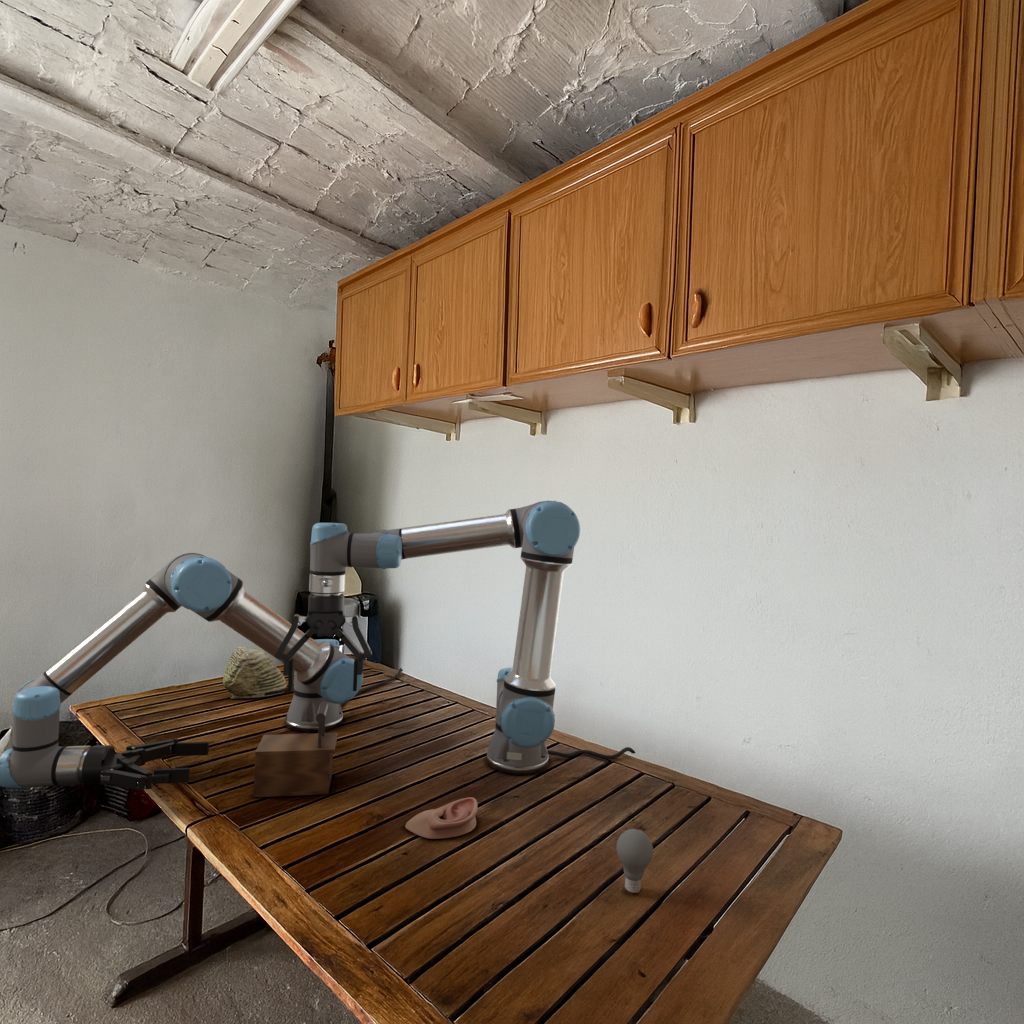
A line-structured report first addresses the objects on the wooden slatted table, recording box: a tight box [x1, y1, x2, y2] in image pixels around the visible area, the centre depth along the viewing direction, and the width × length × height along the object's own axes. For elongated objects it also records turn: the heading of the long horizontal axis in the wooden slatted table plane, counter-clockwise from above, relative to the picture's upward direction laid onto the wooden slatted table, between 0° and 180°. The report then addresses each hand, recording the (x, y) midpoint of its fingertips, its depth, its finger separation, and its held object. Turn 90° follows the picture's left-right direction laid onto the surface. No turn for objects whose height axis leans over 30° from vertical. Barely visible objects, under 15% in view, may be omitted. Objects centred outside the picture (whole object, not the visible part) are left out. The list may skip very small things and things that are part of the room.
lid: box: [254, 702, 339, 757], centre depth 138 cm, size 16×10×8 cm, turn 101°
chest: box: [253, 753, 334, 798], centre depth 138 cm, size 15×10×9 cm, turn 101°
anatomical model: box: [404, 796, 479, 840], centre depth 124 cm, size 13×4×12 cm
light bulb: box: [615, 828, 654, 894], centre depth 106 cm, size 6×6×10 cm
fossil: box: [222, 646, 288, 699], centre depth 198 cm, size 9×18×15 cm, turn 132°
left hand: (199, 761), depth 134 cm, fingers open, 13 cm apart
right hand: (323, 689), depth 139 cm, fingers open, 13 cm apart
